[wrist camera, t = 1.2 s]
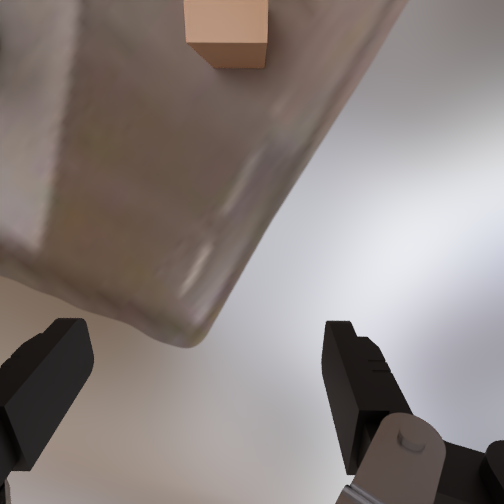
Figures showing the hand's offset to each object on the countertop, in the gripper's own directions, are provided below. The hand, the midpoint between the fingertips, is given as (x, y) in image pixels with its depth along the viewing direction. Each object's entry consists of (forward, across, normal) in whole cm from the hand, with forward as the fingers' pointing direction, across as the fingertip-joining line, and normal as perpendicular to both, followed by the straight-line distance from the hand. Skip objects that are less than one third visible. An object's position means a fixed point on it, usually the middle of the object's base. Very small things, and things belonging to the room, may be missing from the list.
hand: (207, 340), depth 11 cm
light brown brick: (+24, 0, +12) cm, 27 cm away
